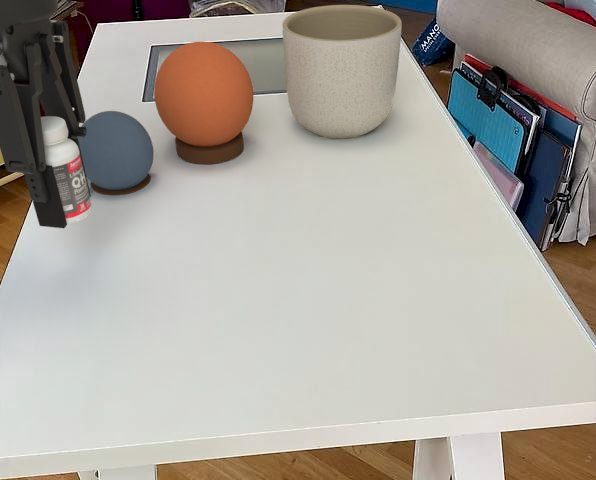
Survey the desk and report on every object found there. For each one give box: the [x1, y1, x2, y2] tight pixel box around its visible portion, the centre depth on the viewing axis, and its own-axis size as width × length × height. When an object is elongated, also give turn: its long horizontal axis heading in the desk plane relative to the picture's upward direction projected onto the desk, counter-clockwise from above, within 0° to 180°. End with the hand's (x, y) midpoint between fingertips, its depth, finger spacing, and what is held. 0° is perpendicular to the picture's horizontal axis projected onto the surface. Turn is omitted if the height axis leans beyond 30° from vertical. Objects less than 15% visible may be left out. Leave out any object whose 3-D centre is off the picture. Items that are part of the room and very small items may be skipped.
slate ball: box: [77, 110, 154, 197], centre depth 95 cm, size 10×10×11 cm
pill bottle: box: [41, 115, 93, 225], centre depth 74 cm, size 5×5×10 cm
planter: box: [282, 4, 403, 139], centre depth 108 cm, size 17×17×15 cm
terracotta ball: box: [153, 40, 254, 165], centre depth 103 cm, size 14×14×15 cm
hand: (65, 210), depth 77 cm, fingers closed on pill bottle, 5 cm apart
